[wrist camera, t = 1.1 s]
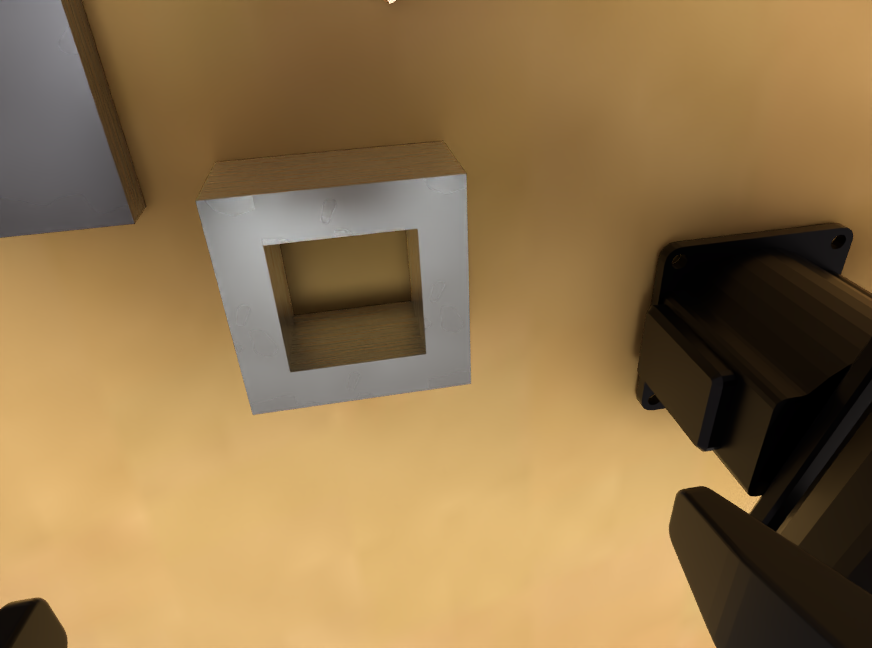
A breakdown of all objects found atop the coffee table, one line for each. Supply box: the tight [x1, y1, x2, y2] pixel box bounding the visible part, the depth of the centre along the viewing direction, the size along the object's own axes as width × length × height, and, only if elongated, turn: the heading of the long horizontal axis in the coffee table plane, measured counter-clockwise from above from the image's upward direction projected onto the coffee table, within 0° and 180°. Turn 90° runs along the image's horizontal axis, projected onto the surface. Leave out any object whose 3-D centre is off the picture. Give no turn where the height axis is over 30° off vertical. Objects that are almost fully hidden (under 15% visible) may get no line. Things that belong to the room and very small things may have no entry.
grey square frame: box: [196, 141, 471, 415], centre depth 16 cm, size 6×6×3 cm
